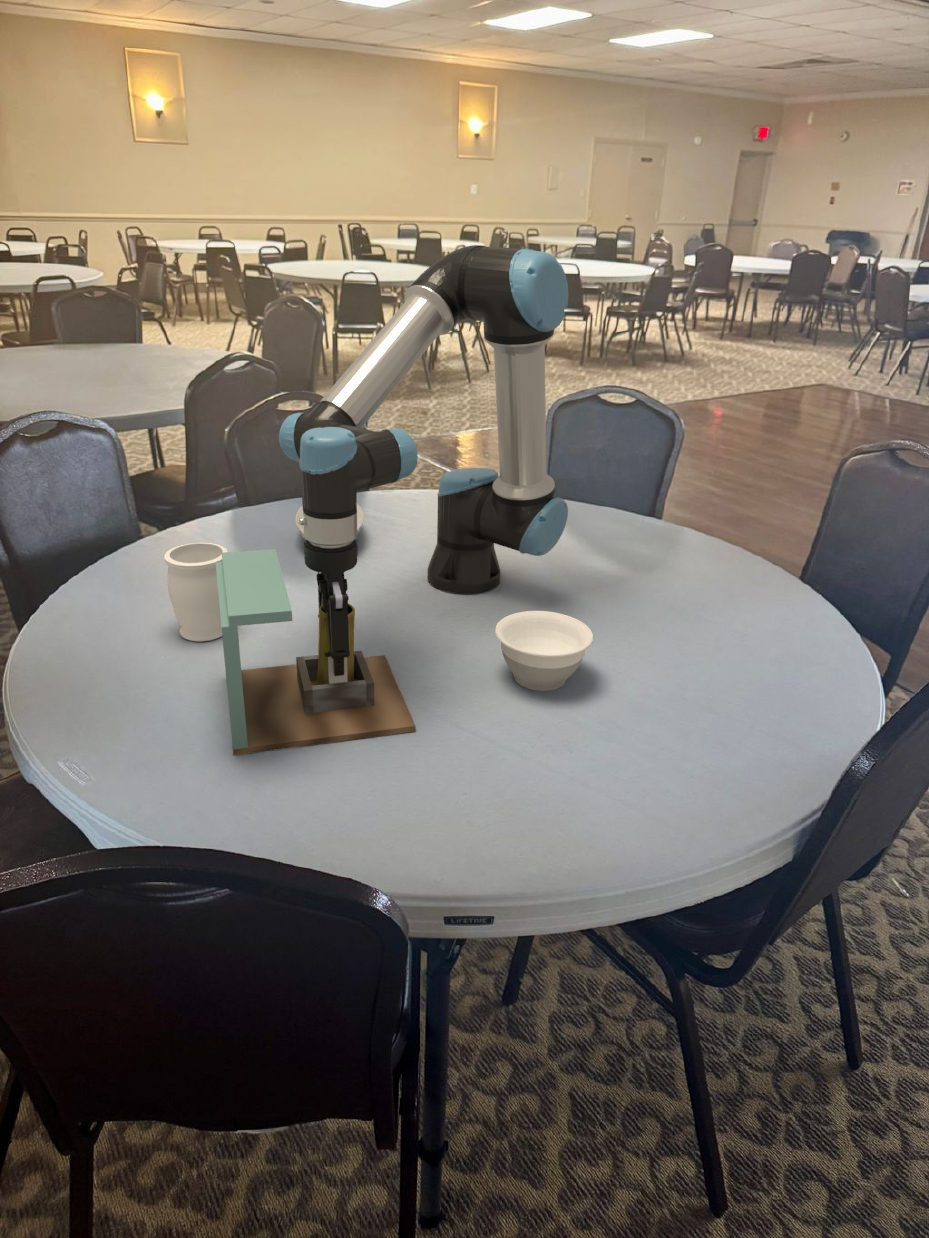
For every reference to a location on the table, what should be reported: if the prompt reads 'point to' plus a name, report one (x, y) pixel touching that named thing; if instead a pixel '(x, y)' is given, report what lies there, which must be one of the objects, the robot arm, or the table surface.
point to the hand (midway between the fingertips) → (334, 678)
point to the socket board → (321, 705)
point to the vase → (324, 646)
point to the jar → (195, 589)
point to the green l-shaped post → (247, 616)
